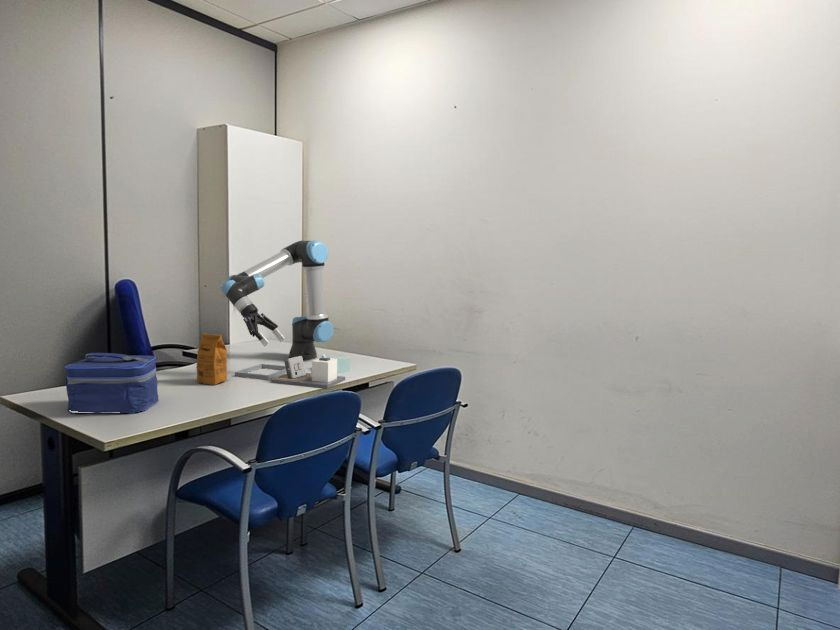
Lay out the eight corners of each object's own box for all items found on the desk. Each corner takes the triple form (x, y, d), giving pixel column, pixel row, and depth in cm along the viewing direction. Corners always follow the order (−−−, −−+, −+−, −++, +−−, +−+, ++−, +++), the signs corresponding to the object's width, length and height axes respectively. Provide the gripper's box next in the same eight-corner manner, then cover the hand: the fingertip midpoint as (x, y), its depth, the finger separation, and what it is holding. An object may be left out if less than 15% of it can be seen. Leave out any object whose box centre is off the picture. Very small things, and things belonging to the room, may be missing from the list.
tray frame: (261, 367, 285) (261, 363, 285) (293, 370, 279) (293, 366, 279) (234, 376, 264) (234, 372, 264) (268, 379, 259) (268, 375, 258)
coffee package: (210, 378, 258) (209, 331, 256) (230, 381, 253) (229, 333, 250) (192, 382, 250) (191, 333, 247) (213, 386, 244) (212, 336, 242)
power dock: (291, 374, 271) (291, 351, 269) (345, 379, 262) (345, 356, 261) (271, 382, 254) (271, 357, 252) (327, 388, 245) (327, 362, 244)
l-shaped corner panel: (349, 372, 279) (349, 357, 278) (325, 373, 275) (325, 358, 274) (345, 367, 290) (345, 353, 289) (321, 368, 286) (321, 354, 285)
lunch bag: (52, 415, 198) (49, 357, 195) (81, 399, 218) (78, 347, 216) (144, 414, 201) (143, 358, 199) (164, 399, 222) (163, 348, 220)
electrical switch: (292, 379, 255) (291, 358, 254) (284, 378, 257) (282, 358, 257) (306, 375, 263) (305, 355, 262) (298, 375, 265) (296, 355, 265)
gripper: (257, 311, 277) (284, 343, 274) (225, 316, 253) (254, 351, 251) (266, 301, 275) (293, 333, 272) (235, 305, 251) (264, 340, 248)
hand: (274, 342), depth 261 cm, fingers open, 13 cm apart
